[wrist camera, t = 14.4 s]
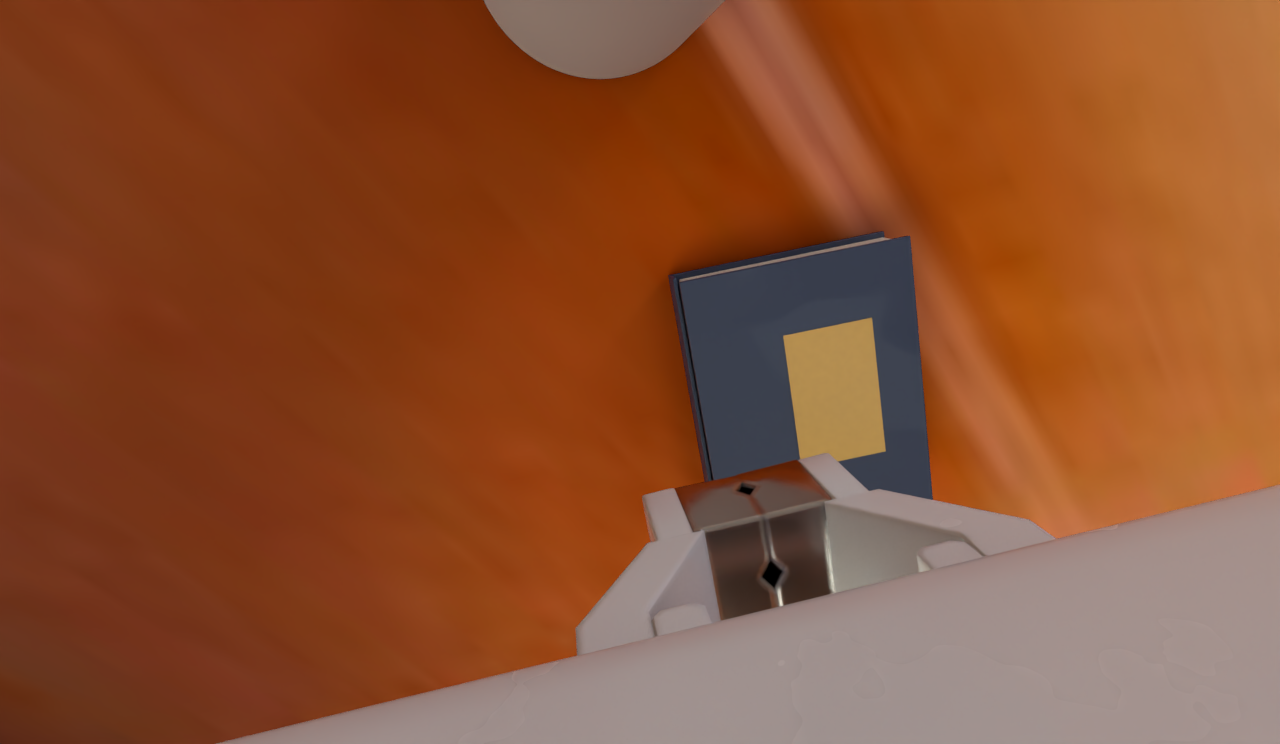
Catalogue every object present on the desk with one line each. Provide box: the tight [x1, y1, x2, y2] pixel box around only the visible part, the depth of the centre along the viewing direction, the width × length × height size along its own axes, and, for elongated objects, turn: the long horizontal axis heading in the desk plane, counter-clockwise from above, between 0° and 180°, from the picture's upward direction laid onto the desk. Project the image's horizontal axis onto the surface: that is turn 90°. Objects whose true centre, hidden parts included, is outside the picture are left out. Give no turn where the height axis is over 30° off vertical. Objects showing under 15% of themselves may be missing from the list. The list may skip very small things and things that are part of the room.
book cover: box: [679, 236, 933, 500], centre depth 42 cm, size 13×16×2 cm
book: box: [668, 231, 889, 482], centre depth 44 cm, size 13×16×2 cm
